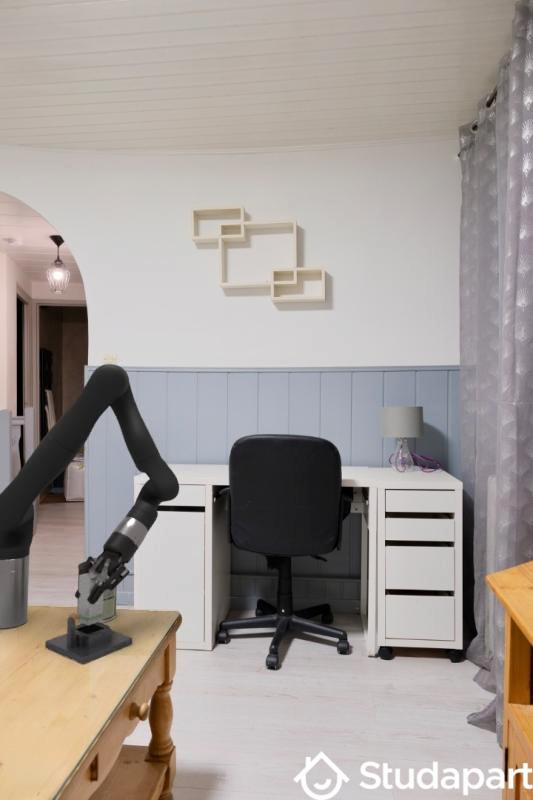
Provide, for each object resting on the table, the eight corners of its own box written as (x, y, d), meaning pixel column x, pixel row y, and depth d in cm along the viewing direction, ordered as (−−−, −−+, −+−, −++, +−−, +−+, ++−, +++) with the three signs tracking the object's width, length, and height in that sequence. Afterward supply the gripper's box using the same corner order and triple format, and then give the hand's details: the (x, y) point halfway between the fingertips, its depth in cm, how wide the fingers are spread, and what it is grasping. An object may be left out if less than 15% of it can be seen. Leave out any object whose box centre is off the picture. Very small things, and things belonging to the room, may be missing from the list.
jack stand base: (45, 647, 133) (46, 611, 134) (94, 629, 145) (95, 596, 145) (82, 664, 125) (84, 625, 125) (132, 644, 137) (133, 608, 137)
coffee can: (68, 617, 153) (70, 564, 153) (100, 607, 161) (101, 557, 161) (92, 627, 147) (94, 571, 147) (124, 616, 155) (126, 563, 155)
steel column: (77, 621, 135) (78, 575, 135) (91, 616, 138) (93, 571, 138) (88, 625, 132) (89, 578, 132) (102, 620, 136) (104, 574, 136)
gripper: (99, 526, 146) (55, 585, 136) (137, 534, 137) (94, 598, 127) (115, 543, 150) (74, 602, 140) (153, 553, 142) (112, 615, 132)
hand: (84, 600), depth 134 cm, fingers closed on steel column, 4 cm apart
